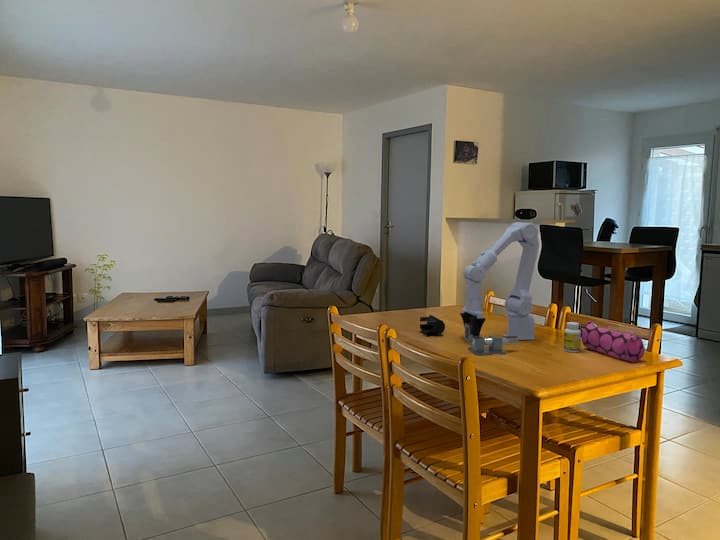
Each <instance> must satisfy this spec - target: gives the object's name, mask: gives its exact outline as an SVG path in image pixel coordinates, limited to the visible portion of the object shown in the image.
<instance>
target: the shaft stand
mask: <svg viewBox="0 0 720 540" xmlns="http://www.w3.org/2000/svg"><path fill="white" fill-rule="evenodd" d="M519 342H520V340H519V339H518V337H517V336H506V337H505V336H500V335H498V334H497V335H496V334H495V335H489V336H488V337H486V338H485V337H482V336H481V335H480V336H472V337H471V343H470V345H471V346H469V347H468V349H467V350H468V351H470V352H471V353H473V354H474V355H476V356H477V355H478V356H491V355H490V354H501V355H507V352H508V351H505V350H504V349H503V345H511V344H512V345H513V344H514V345H515V344H519ZM486 345H488V346H486Z"/></svg>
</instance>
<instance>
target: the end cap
mask: <svg viewBox="0 0 720 540" xmlns="http://www.w3.org/2000/svg"><path fill="white" fill-rule="evenodd" d="M419 322H426V323H424V324H419V329H420V333H421V334H422V333H423V334H422V335H424V336H425V335H426V337H427V338H428V337H430V338H431V336H433V337H439V336H440V335H442V334H443V333H444V332H445V331H446V324H445V322H444V321H443V320H442V319H440V318H438V317H436V316H434V315H432V314H429V315H428V316H420V318H419Z"/></svg>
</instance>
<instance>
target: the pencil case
mask: <svg viewBox="0 0 720 540" xmlns="http://www.w3.org/2000/svg"><path fill="white" fill-rule="evenodd" d="M581 342H582V345H583V346H584V347H586V349H589V350H592V351H595V352H597V353H600V354H601V353H602V354H604V355H605V354H606V355H607V356H610V357H614V358H616V359H619V360H622V361H626V362H631V363H637V362H639V361H640V360H641V359H642V358H643V357H644V354H645V345H644V342H643V340H642V338H641V337H640V335H637V334H635V333H631V332H625V333H623V332H620V331H615V330H611V329H608V328H606V327H600V326H598V325H597V324H596V323H594V322H593V320H589V321H586V326H584V328H583V329H582V331H581Z"/></svg>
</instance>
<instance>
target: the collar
mask: <svg viewBox="0 0 720 540" xmlns="http://www.w3.org/2000/svg"><path fill="white" fill-rule="evenodd" d="M472 336H473V334H472V325H471V323H465V328H464V339H463V340H464V341H466V342H467V343H469V344H471V337H472ZM479 336H481V334H480V335H479Z"/></svg>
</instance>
